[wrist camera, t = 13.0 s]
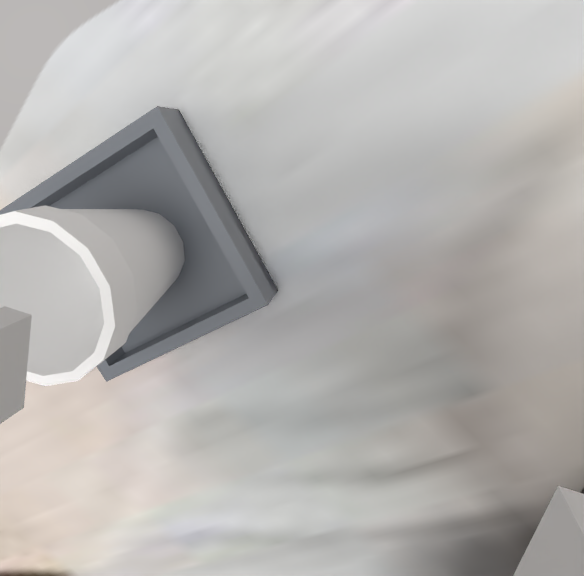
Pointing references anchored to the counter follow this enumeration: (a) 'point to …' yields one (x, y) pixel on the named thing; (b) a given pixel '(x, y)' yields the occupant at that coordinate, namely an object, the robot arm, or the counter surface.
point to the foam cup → (83, 281)
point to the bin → (178, 211)
